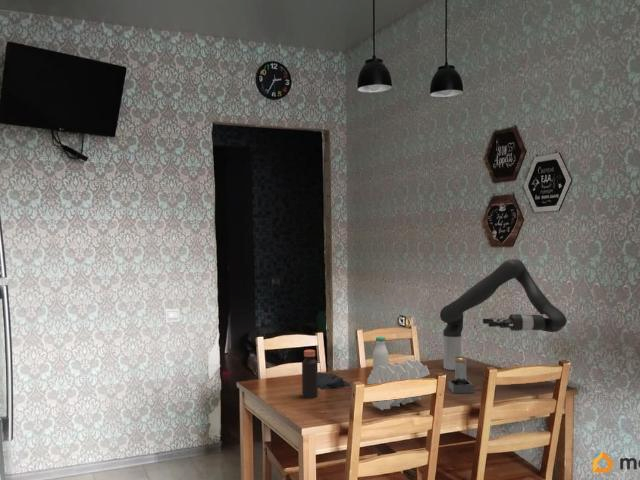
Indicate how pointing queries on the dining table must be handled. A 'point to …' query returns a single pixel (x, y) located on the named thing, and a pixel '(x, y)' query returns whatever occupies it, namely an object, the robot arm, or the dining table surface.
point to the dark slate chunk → (330, 381)
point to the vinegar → (309, 375)
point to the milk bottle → (380, 353)
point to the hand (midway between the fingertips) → (485, 322)
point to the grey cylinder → (460, 370)
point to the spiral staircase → (397, 373)
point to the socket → (461, 387)
